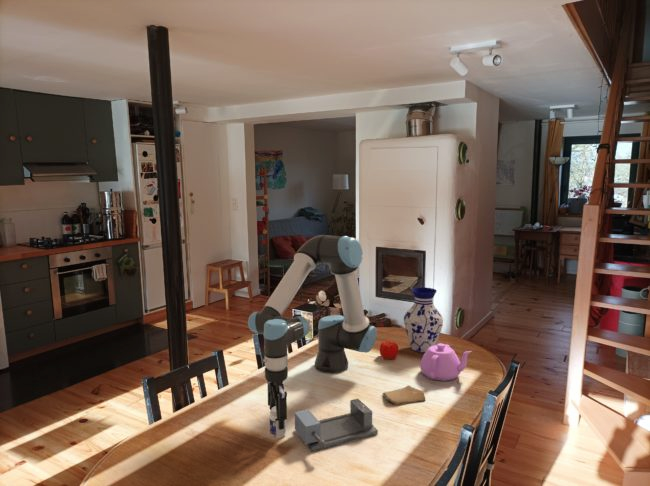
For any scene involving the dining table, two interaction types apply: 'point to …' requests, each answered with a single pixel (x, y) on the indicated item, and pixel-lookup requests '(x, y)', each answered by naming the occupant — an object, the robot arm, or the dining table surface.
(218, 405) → the dining table surface
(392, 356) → the tomato
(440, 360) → the teapot
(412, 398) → the stone
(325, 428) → the vise
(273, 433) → the pill bottle
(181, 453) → the dining table surface
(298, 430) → the block
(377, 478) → the dining table surface
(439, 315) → the vase
